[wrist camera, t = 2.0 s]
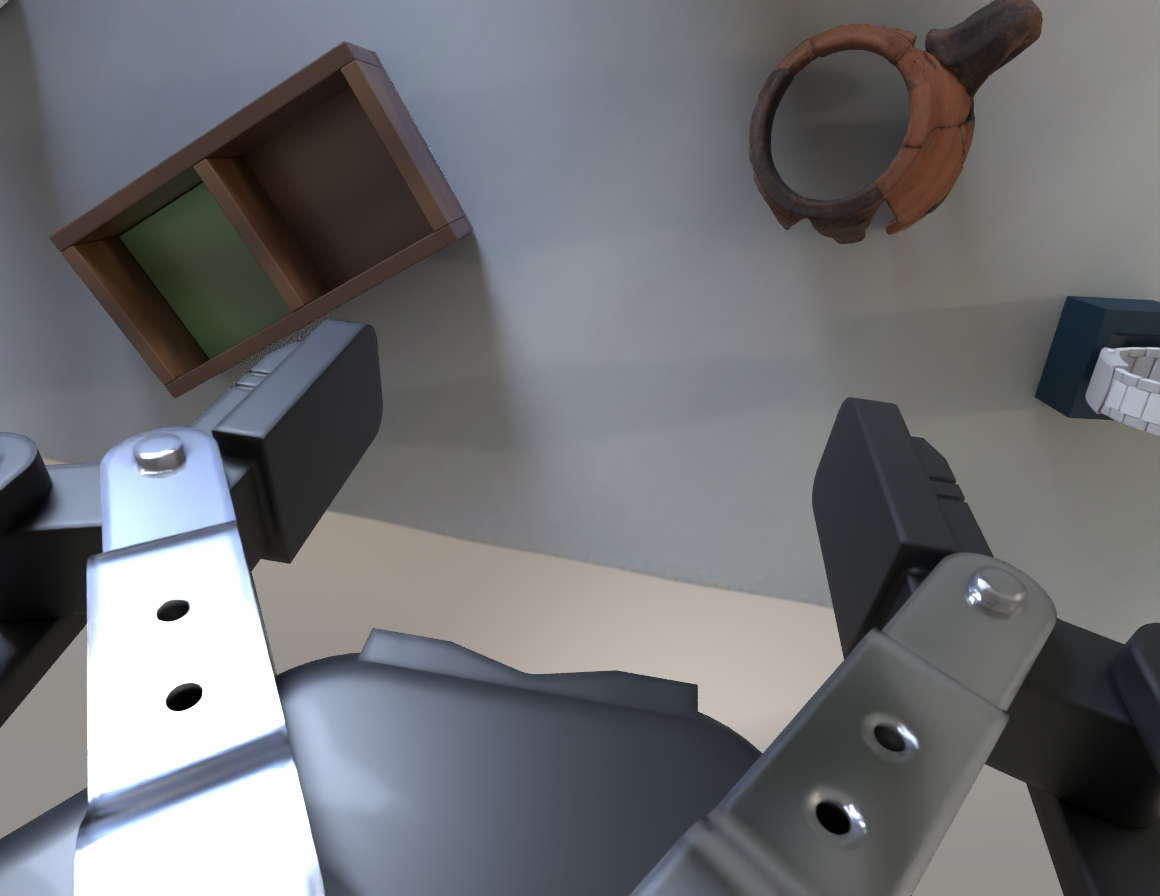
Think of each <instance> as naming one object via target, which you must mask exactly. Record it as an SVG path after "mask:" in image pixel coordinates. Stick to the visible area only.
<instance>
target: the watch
mask: <svg viewBox="0 0 1160 896" xmlns="http://www.w3.org/2000/svg"><path fill="white" fill-rule="evenodd" d="M1035 397H1036V398H1037V399H1039V400H1040V401H1042V402H1044V403H1045V404H1047V405H1049V406H1050V407H1052V408H1054V409H1055V410H1057V411H1059V412H1060V413H1062V414H1064V415H1065V416H1067V417H1068V418H1084V419H1103V420H1116V421H1118V422H1120V423H1124V424H1126V425H1128V426H1131V427H1134V428H1136V429H1139V430H1142V431H1146V432H1148V433H1151V434H1154V435H1157V436H1160V302H1156V301H1153V300H1134V299H1114V298H1094V297H1075V296H1067V299H1066V302H1065V305H1064V308H1063V311H1062V315H1061V318H1060V321H1059V324H1058V327H1057V330H1056V333H1055V336H1054V339H1053V342H1052V345H1051V349H1050V352H1049V355H1048V358H1047V361H1046V364H1045V367H1044V370H1043V373H1042V376H1041V379H1040V383H1039V386H1038V389H1037V392H1036V395H1035ZM1149 422H1150V423H1149Z"/></svg>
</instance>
